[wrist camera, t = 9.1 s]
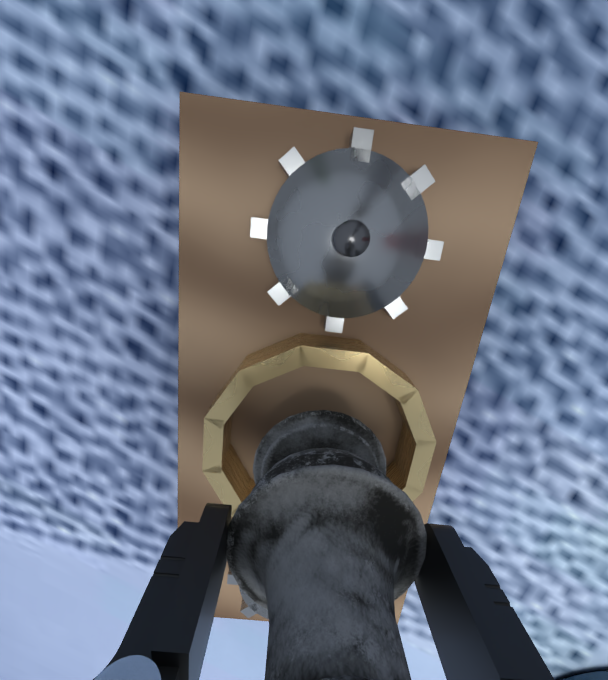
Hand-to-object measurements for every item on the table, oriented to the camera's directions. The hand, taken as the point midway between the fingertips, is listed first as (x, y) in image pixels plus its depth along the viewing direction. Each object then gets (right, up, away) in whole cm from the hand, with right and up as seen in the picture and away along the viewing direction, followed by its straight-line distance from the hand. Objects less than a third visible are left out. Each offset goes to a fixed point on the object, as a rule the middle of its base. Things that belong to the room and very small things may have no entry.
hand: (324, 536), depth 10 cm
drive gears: (0, +2, +5) cm, 6 cm away
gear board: (0, +2, +7) cm, 7 cm away
